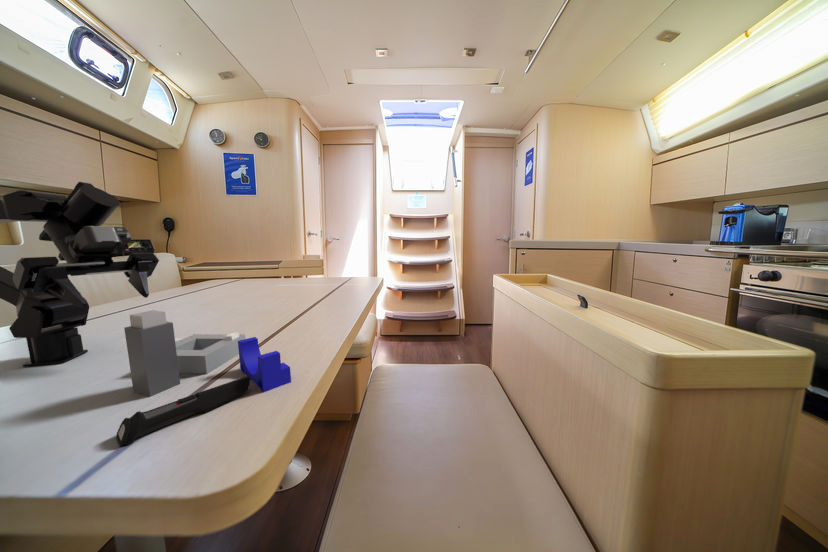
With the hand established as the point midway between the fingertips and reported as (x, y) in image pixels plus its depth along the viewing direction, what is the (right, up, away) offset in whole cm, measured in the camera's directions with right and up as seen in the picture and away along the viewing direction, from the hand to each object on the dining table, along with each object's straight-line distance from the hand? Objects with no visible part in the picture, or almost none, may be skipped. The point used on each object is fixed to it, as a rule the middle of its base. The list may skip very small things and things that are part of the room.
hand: (118, 300), depth 55 cm
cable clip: (+29, -14, -2) cm, 32 cm away
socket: (+12, -13, +5) cm, 18 cm away
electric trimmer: (+24, -16, -13) cm, 32 cm away
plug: (+13, -14, -6) cm, 20 cm away
